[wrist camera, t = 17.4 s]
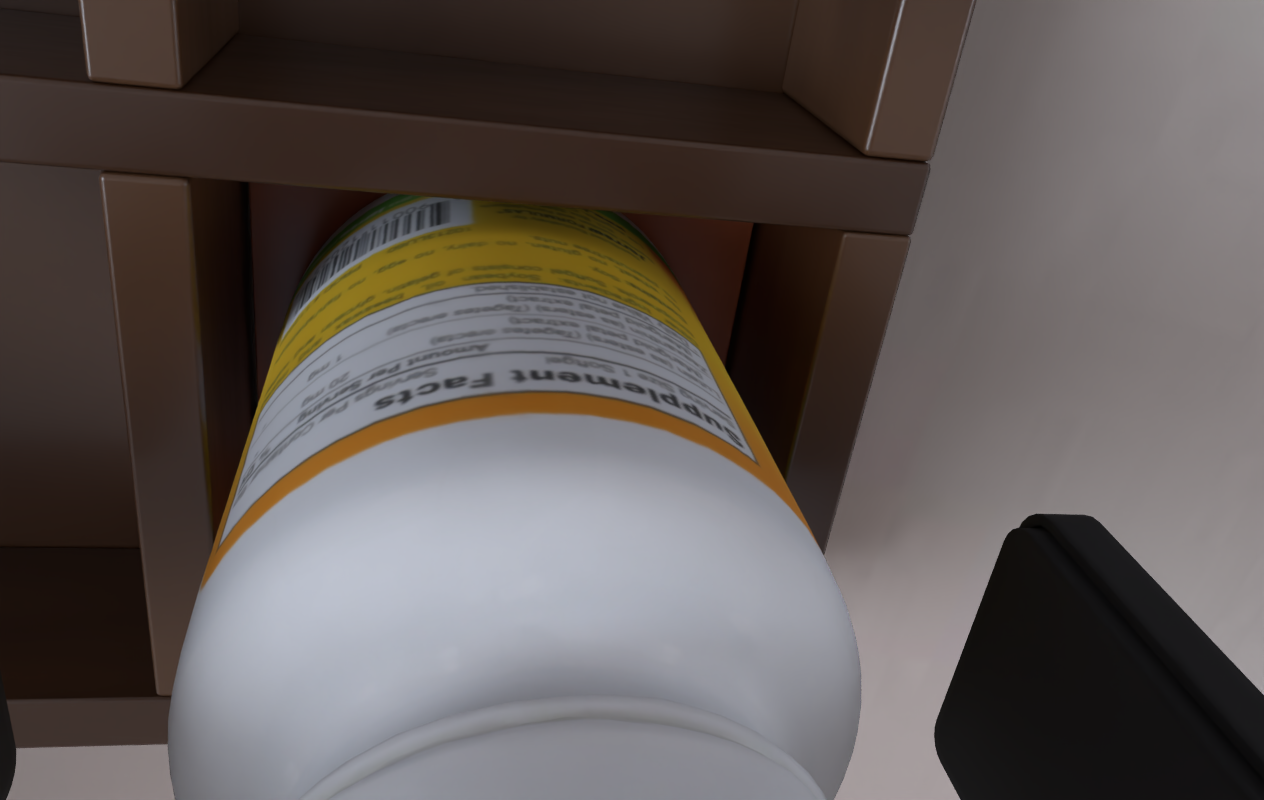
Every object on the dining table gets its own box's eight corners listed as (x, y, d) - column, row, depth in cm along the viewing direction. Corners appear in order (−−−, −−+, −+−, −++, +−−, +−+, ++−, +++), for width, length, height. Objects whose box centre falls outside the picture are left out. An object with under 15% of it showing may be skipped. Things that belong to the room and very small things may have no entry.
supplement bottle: (613, 544, 16) (807, 1349, 7) (251, 476, 14) (-20, 1405, 6) (745, 225, 14) (1233, 863, 5) (334, 100, 12) (87, 732, 4)
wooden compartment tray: (-1019, -1207, 7) (-2153, -2008, 4) (984, -648, 10) (1217, -853, 7) (-337, 561, 14) (-554, 764, 11) (717, 569, 17) (777, 730, 14)
